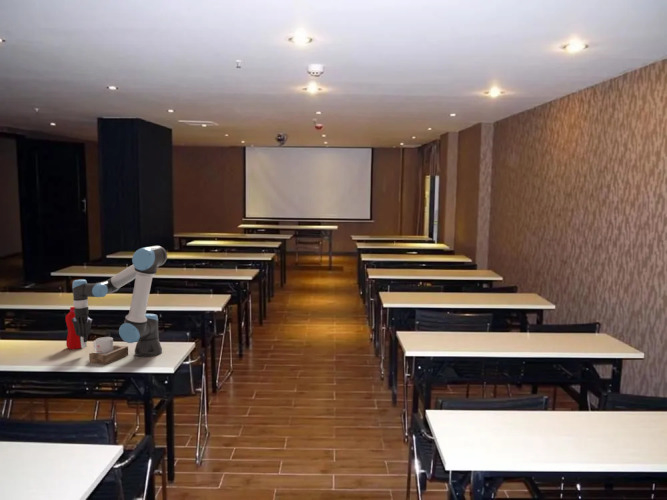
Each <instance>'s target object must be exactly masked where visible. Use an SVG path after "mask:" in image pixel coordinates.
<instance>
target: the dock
mask: <svg viewBox="0 0 667 500" xmlns="http://www.w3.org/2000/svg"><path fill="white" fill-rule="evenodd" d="M126 356H129V346H127V345H118V344H113V351H112V352H109V353H107V354H100V353H96V352H89V354H88V357H89V358H88V359H89V363H90V364H98V365H99V364H100V365H108V364H110V363H113V362H115V361H117V360H120V359H123V358H124V357H126Z"/></svg>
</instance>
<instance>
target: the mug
mask: <svg viewBox="0 0 667 500" xmlns="http://www.w3.org/2000/svg"><path fill="white" fill-rule="evenodd" d="M113 345H114V338H113V337H110V336H104V337H98V338H96V339H95V340H93V350H94V351H95V352H94V353H100V354H107V353H109V352H112V351H113Z"/></svg>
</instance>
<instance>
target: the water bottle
mask: <svg viewBox="0 0 667 500" xmlns="http://www.w3.org/2000/svg"><path fill="white" fill-rule="evenodd" d="M74 308H75V307H74V306H71V307H69V312H68V313H67V314H66V315H65V323H66V328H67V336H66V337H67V338H66V344H65V345H66V347H67V349H69V350H73V351H74V350H77V349H82V348H81V342H80V337H79V336H78V335H76V332H75V328H74V325H73V322H72V320H71V319H74V318H75V314H74Z"/></svg>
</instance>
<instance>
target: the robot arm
mask: <svg viewBox="0 0 667 500" xmlns="http://www.w3.org/2000/svg"><path fill="white" fill-rule="evenodd" d="M167 260H168V253H167V250H166V249H165V248H164V247H162V246H160V245H152V246H145V247H141V248H138V249H137V250H136V251H135V252H134V253H133V255H132V258H131V261H132V265H129V266H128V267H126V268H124V269H123V270H121V271H120V272H118V273H116V274H115V275H113V276H112V277H110V278H109V279H106V280H103V281H101V282H96V283H88V282H87V280H86V279H75V280H73V281H72V288H71V289H72V295H73V297H72V299H73V301H72V302H73V307H75V308H74V314H75V318H74V319H71V320H72V322H73V325H74V328H75V332H76V335H78V336H79V337H80V342H81V348H80V349H85V348H88V346H87V342H88V336H90V334H91V328H92V324H93V322H94V319H93V318H90V316H89V312H90V310H89V301H88V300H89V299H88V297H89V298H105V297H106V295H109V294H112V293H116V292H117V291H118V290H119V289H120V288H121V287H123V286H125V285H127V284H129V283H131V282H132V281H134V287H133V289H132V290H133V292H132V296H131V303H130V307H129V312H128V314H126V315H125V317H124V318H125V319H124V321H123V322H124V323H122V324H121V325H120V326H119V329H118V333H119V336H120V338H121V339H122V341H123V342H125V343H127V344H134V343H136V345H135V349H134V355H135V356H137V357H146V358H147V357H153V356H154V355H155V356H157V355H161V354H162V353H163V347H162V345H161V342H160V338H159V318H158V315H157V314H154V313H147V307H148V303H149V298H150V292H151V288H152V287H151V286H152V282H153V277H154V275H156V274H157V271H158V268H159V267H161V266H163V265H164V264H165V263H166V261H167ZM160 353H161V354H160Z"/></svg>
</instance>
